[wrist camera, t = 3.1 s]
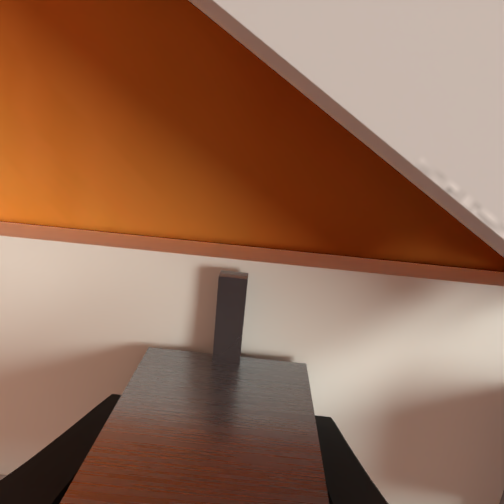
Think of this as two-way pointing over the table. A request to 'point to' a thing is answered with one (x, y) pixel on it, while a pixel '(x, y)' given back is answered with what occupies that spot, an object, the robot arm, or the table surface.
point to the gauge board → (264, 345)
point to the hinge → (398, 85)
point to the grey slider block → (208, 427)
